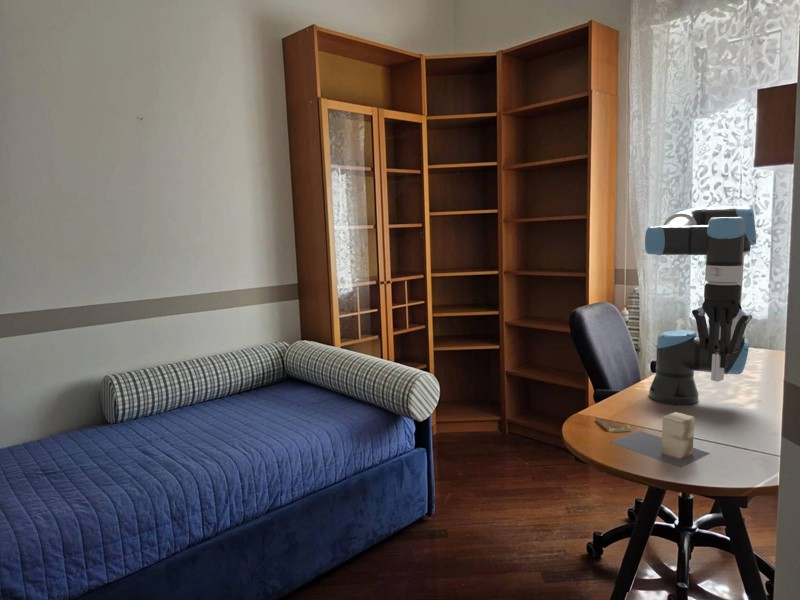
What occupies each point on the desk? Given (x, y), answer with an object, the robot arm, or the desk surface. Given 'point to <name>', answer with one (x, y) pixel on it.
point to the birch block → (677, 435)
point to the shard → (613, 425)
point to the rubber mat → (655, 448)
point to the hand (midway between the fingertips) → (717, 379)
